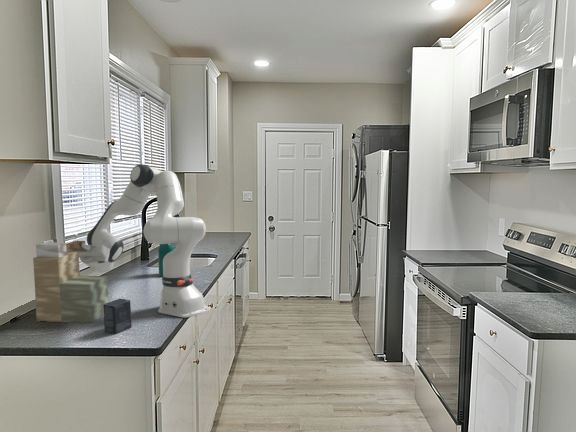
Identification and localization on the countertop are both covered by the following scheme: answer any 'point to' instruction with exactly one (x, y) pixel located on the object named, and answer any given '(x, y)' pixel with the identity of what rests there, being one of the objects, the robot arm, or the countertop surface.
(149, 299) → the countertop surface
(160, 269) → the pitcher
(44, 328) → the countertop surface
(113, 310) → the box
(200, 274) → the countertop surface
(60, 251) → the mallet
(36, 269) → the riser
